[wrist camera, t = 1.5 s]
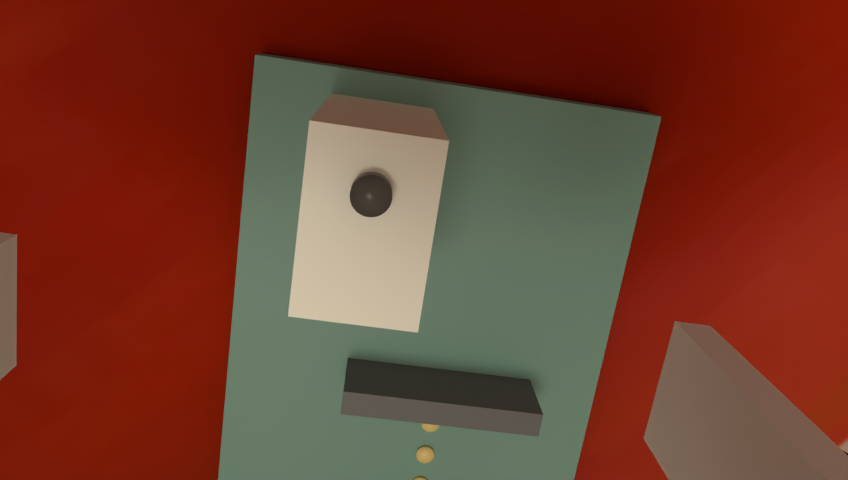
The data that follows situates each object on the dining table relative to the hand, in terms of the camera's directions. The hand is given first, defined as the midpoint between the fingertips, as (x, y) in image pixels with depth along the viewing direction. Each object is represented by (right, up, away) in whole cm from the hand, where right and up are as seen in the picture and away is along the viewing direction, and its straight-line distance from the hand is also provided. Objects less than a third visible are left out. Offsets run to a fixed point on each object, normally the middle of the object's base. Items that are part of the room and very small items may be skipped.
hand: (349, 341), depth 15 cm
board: (+1, -2, +18) cm, 18 cm away
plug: (-1, +5, +15) cm, 15 cm away
